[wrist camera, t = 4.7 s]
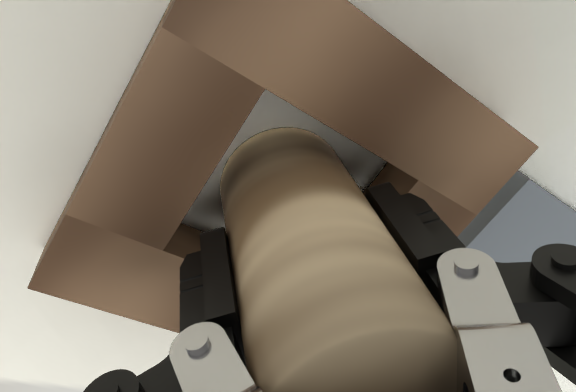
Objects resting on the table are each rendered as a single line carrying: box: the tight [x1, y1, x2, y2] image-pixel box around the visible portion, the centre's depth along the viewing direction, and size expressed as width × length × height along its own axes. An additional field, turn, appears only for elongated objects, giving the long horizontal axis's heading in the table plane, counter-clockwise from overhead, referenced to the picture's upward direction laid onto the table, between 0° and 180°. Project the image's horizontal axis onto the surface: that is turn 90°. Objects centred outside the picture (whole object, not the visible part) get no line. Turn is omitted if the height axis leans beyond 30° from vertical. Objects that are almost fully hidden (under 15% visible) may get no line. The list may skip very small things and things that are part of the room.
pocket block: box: [28, 0, 538, 333], centre depth 15 cm, size 12×12×2 cm
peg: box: [220, 128, 457, 392], centre depth 13 cm, size 4×4×9 cm
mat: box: [458, 171, 576, 263], centre depth 22 cm, size 10×10×1 cm
